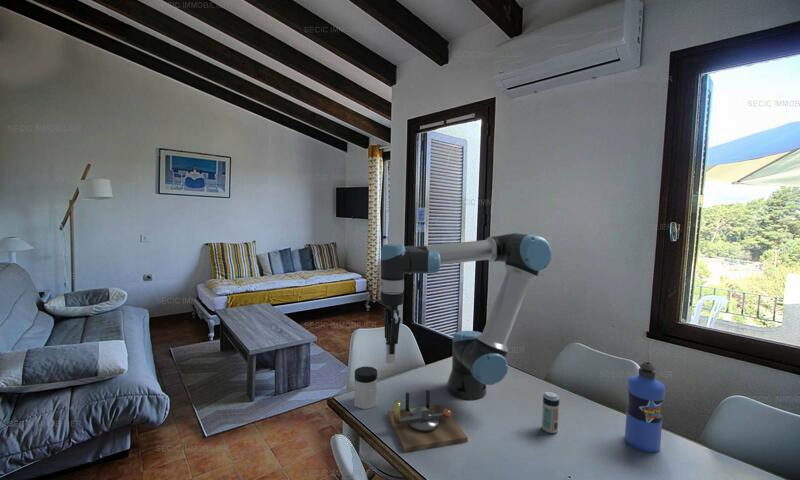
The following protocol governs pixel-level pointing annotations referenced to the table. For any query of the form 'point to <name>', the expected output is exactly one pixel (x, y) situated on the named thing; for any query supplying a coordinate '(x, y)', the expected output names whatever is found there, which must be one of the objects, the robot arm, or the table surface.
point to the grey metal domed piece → (420, 419)
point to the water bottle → (644, 410)
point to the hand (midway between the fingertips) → (390, 362)
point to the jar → (365, 387)
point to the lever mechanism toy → (417, 440)
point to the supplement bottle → (550, 412)
